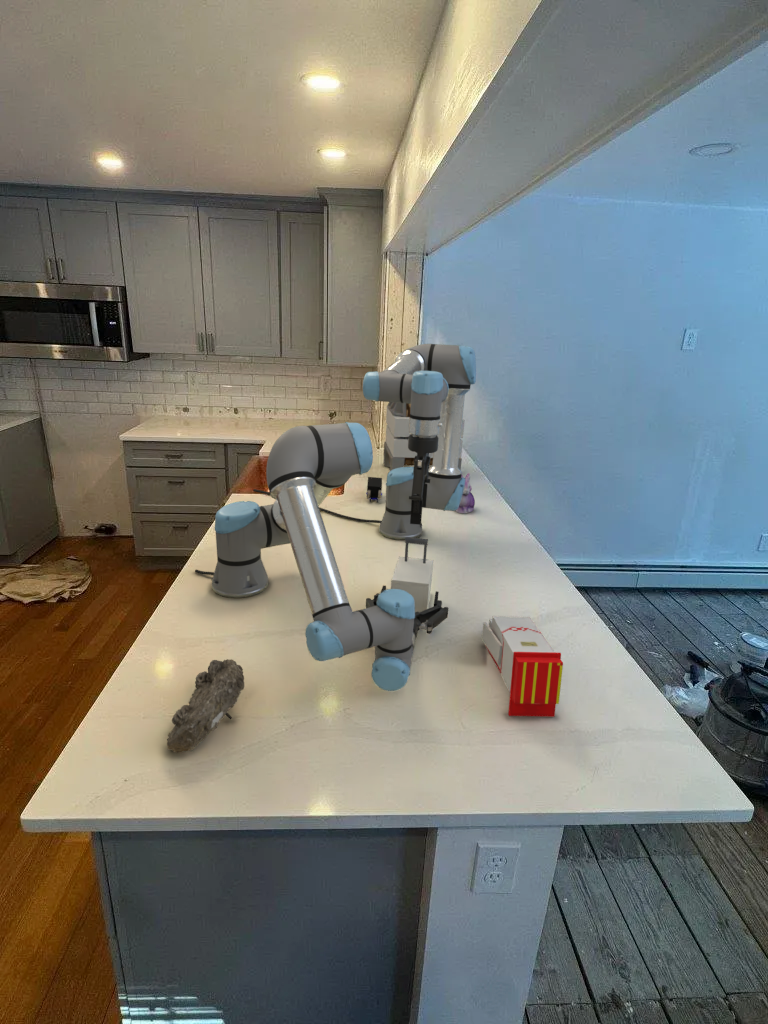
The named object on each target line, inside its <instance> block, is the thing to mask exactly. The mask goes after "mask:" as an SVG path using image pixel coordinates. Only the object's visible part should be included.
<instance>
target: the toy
mask: <svg viewBox="0 0 768 1024" xmlns="http://www.w3.org/2000/svg"><path fill="white" fill-rule="evenodd" d="M481 632H482V633H481V640H482V642H483V644H484V646H485V648H486V650H487V652H488V654H489V655H490V657H491V659H492V661H493V663H494V664H495V666H496V668H497V670H498V671H499V674H500V676H501V678H502V680H503V682H504V684H505V687H506V688H507V690H508V692H509V700H508V702H509V703H508V710H507V711H508V712H507V715H508V717H551V718H552V717H553V718H555V716H556V707H557V705H559V704H560V698H561V697H560V695H561V688H562V687H561V686H562V678H563V669H564V662H563V661H562V653H561V652H556V651H555V649H554V648H553V647H552V645H551V644H550V643H549V641H548V639H547V638H546V637H545V635H544V634H543V633H542V631H541V630H540V629H539V628H538V626H537V624H536V622H535V621H534V620H533V619H532V617H531V616H514V615H513V616H512V615H511V616H508V615H507V616H506V615H505V616H504V615H492V618H489V620H488V623H487V621H483V623H482V631H481Z"/></svg>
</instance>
